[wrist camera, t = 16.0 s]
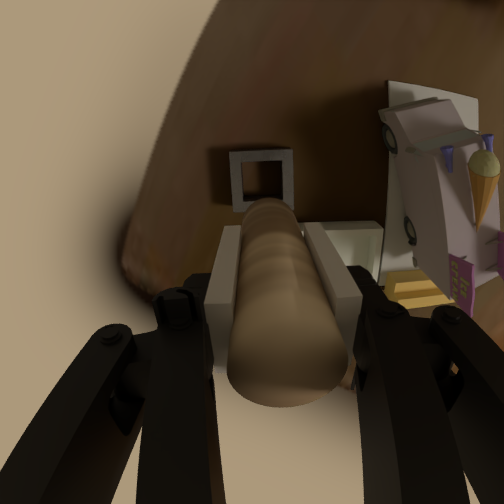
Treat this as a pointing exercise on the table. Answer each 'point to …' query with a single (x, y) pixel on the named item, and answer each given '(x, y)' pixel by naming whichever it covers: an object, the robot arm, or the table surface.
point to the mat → (395, 237)
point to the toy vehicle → (447, 196)
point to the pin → (281, 315)
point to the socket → (261, 155)
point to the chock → (413, 289)
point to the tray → (356, 242)
